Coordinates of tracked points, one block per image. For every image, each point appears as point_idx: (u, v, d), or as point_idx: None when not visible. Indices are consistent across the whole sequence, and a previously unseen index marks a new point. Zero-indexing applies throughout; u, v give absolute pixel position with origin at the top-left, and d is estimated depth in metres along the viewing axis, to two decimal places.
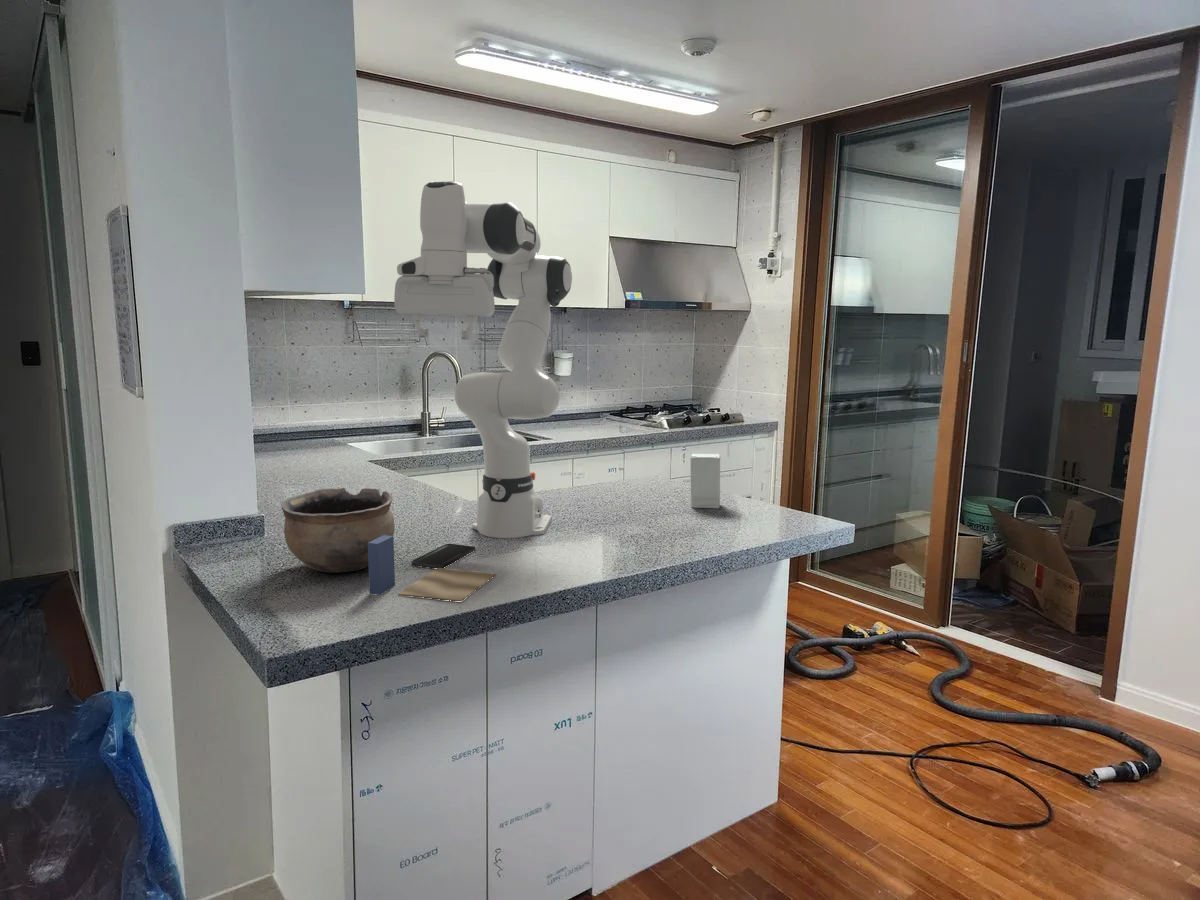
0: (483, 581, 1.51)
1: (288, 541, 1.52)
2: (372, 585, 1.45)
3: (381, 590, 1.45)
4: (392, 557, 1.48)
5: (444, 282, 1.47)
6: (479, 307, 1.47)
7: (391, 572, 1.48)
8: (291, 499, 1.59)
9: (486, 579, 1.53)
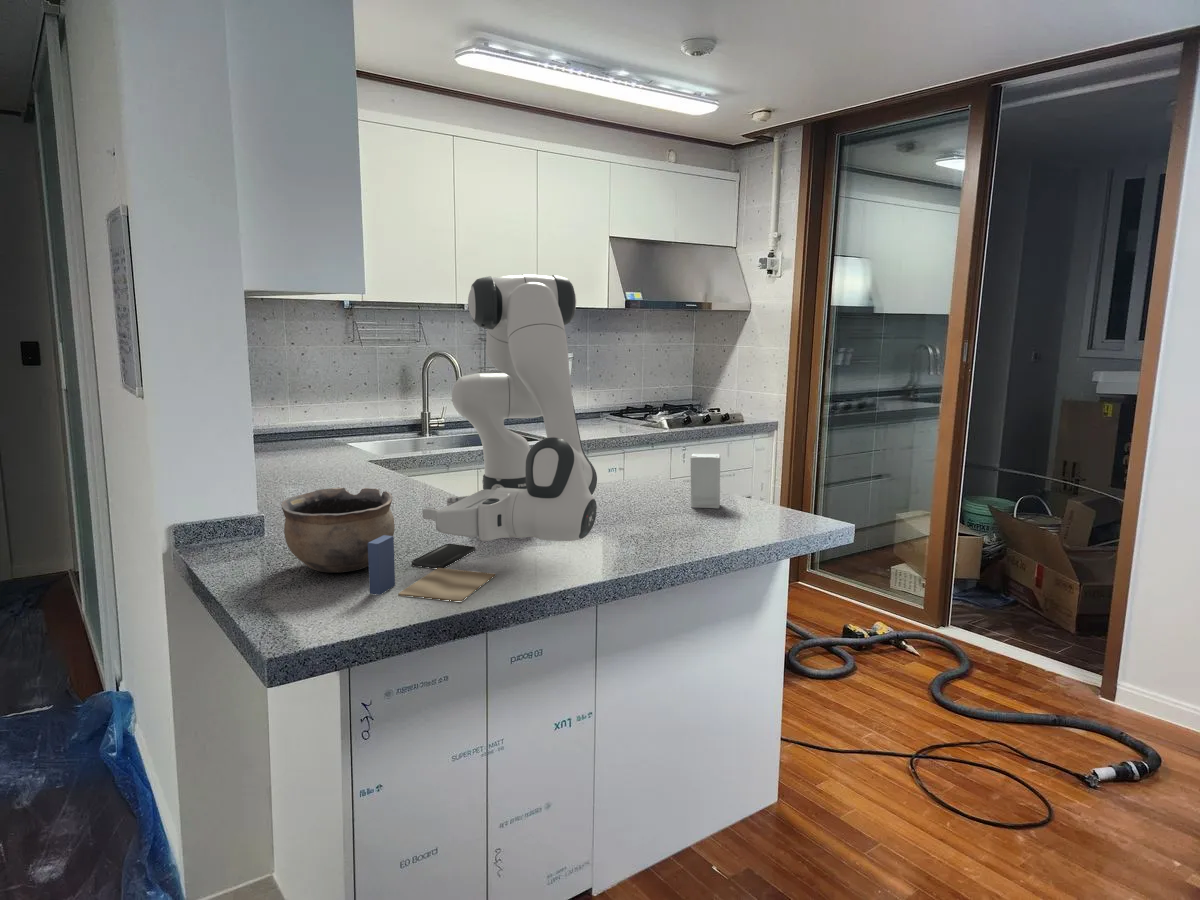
0: (483, 581, 1.51)
1: (288, 541, 1.52)
2: (372, 585, 1.45)
3: (381, 590, 1.45)
4: (392, 557, 1.48)
5: None
6: None
7: (391, 572, 1.48)
8: (291, 499, 1.59)
9: (486, 579, 1.53)
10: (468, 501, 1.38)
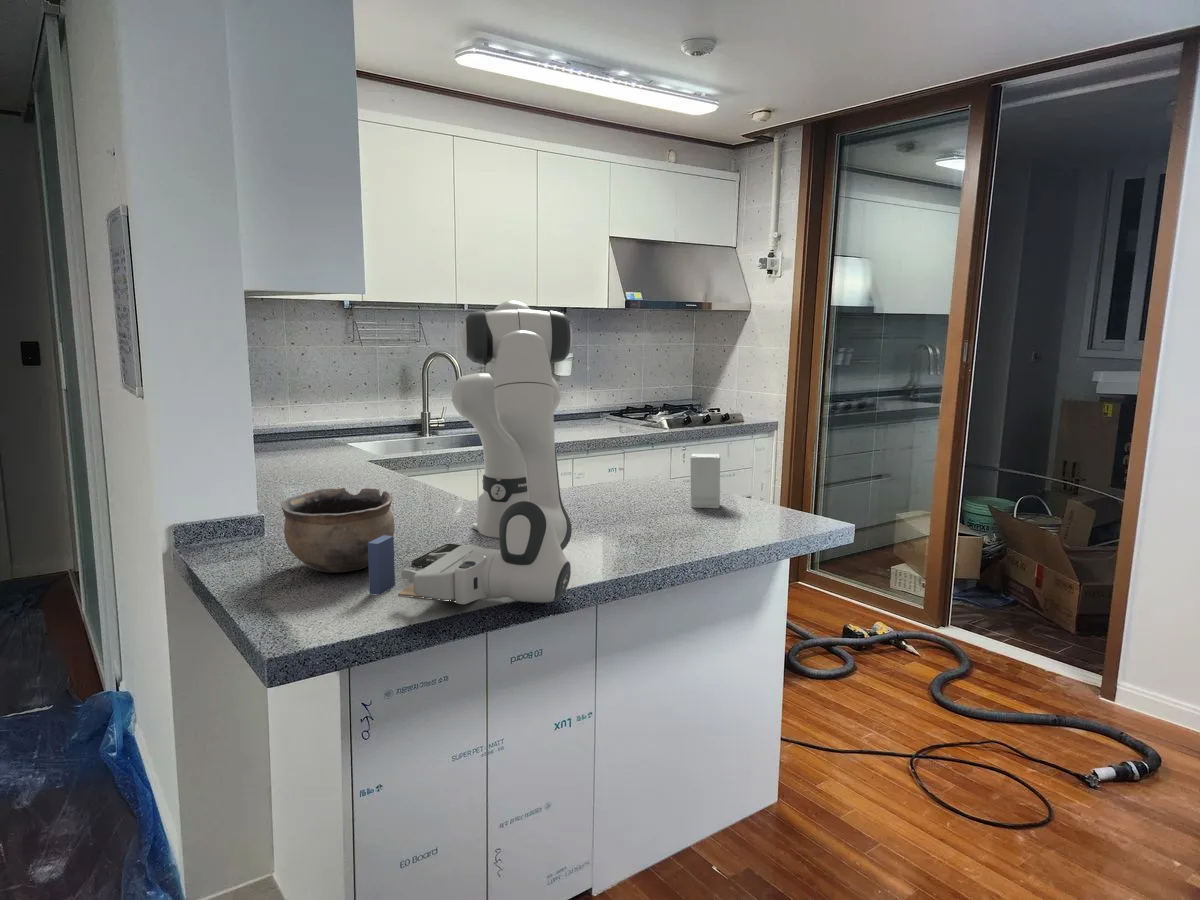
0: None
1: (288, 541, 1.52)
2: (372, 585, 1.45)
3: (381, 590, 1.45)
4: (392, 557, 1.48)
5: None
6: None
7: (391, 572, 1.48)
8: (291, 499, 1.59)
9: None
10: (446, 561, 1.42)
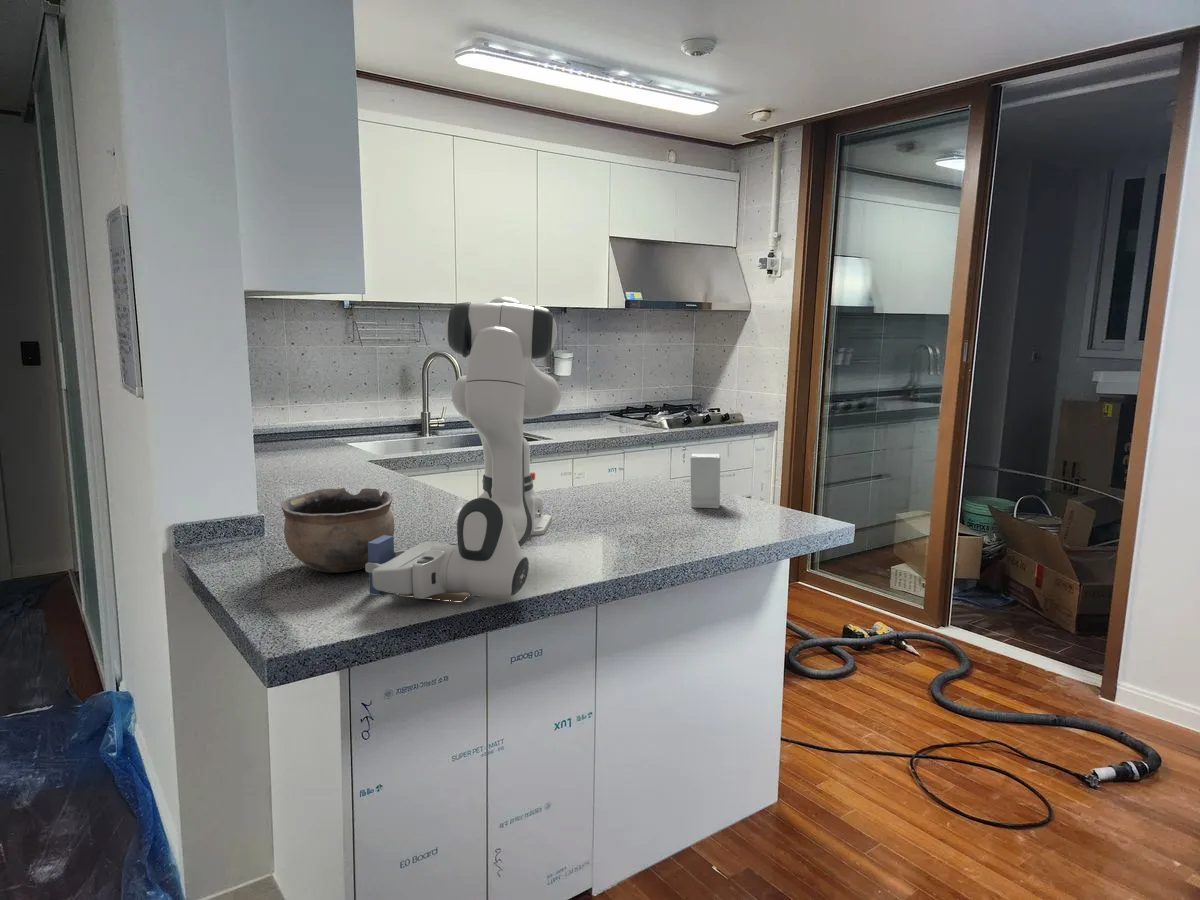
0: None
1: (288, 541, 1.52)
2: (372, 585, 1.45)
3: None
4: (392, 557, 1.48)
5: None
6: None
7: None
8: (291, 499, 1.59)
9: None
10: (406, 557, 1.44)
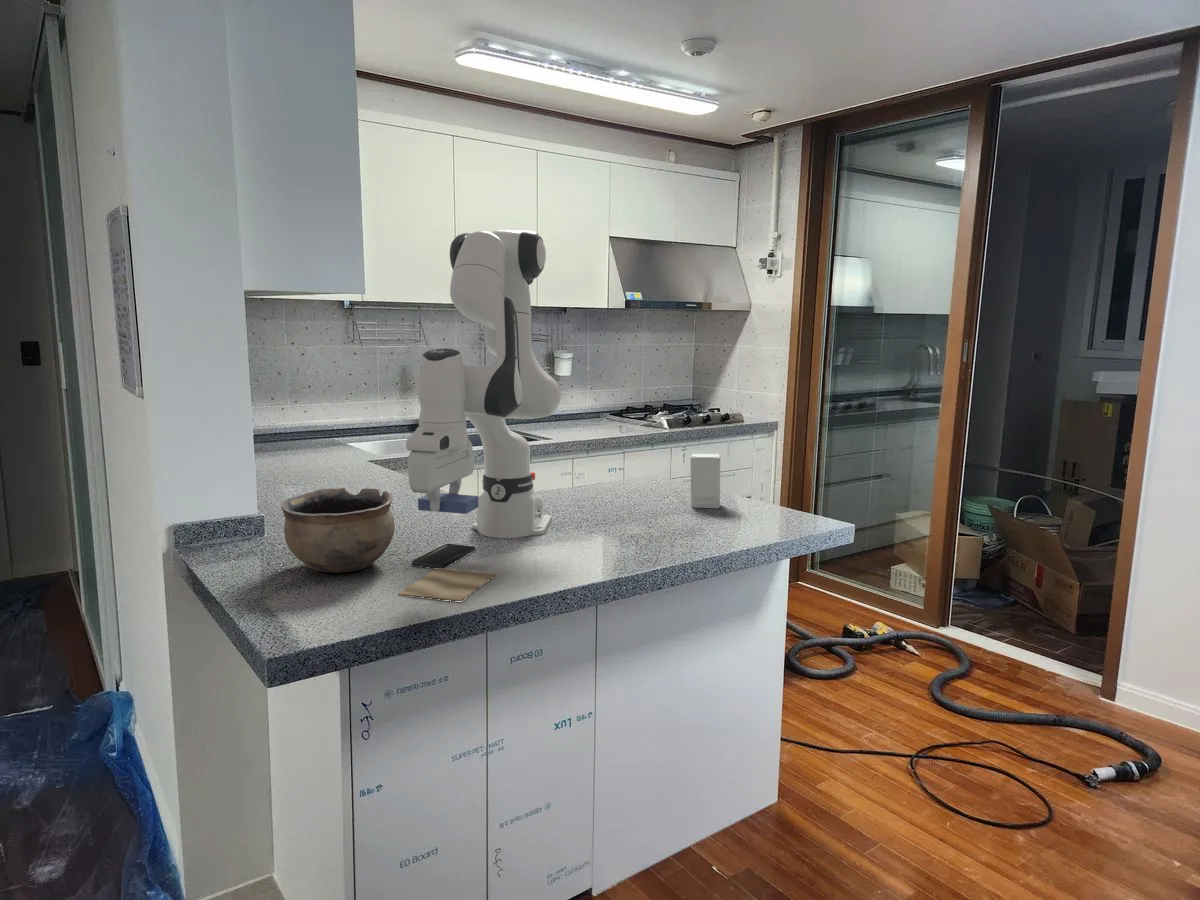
0: (483, 581, 1.51)
1: (288, 541, 1.52)
2: (457, 509, 1.44)
3: (464, 501, 1.44)
4: (449, 494, 1.50)
5: None
6: (471, 467, 1.54)
7: (460, 496, 1.48)
8: (291, 499, 1.59)
9: (486, 579, 1.53)
10: None
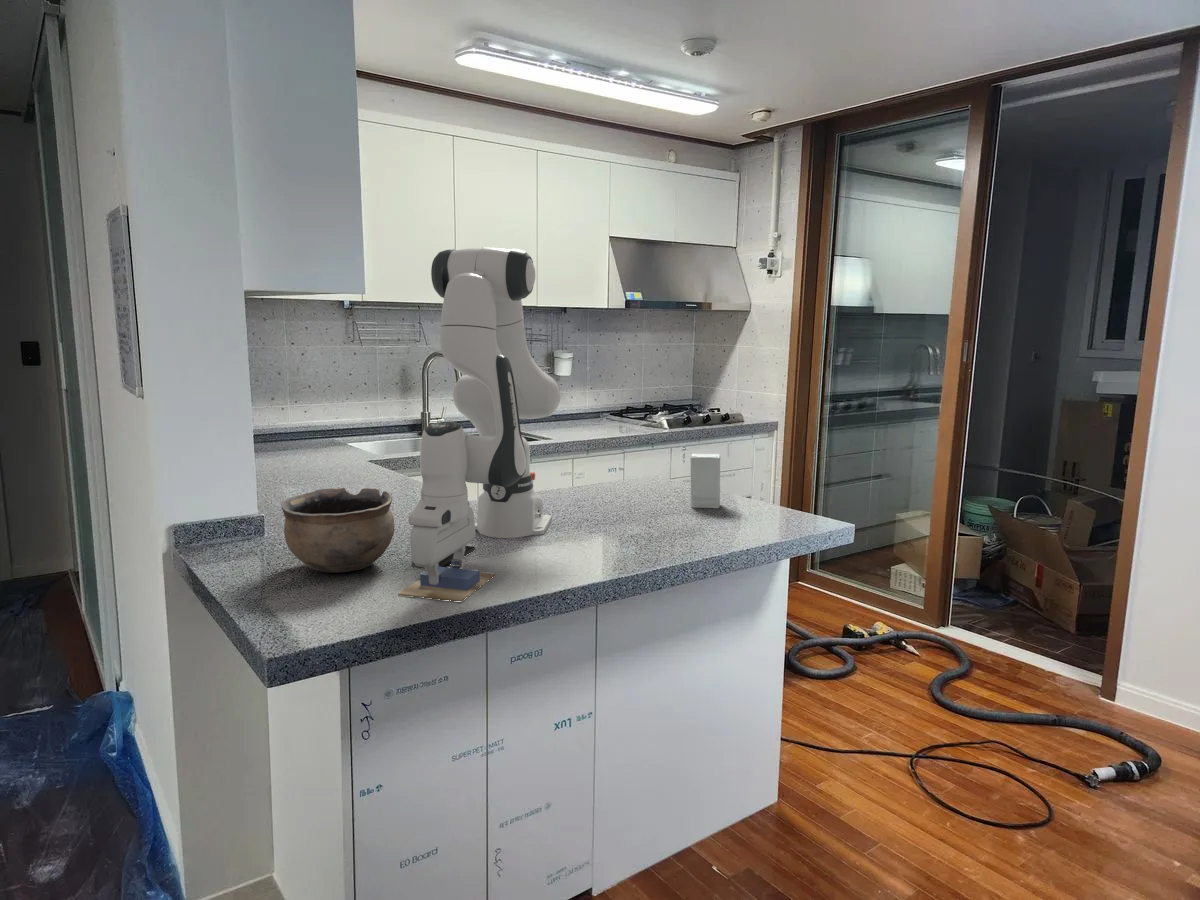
0: (483, 581, 1.51)
1: (288, 541, 1.52)
2: (459, 586, 1.47)
3: (465, 578, 1.47)
4: (450, 568, 1.52)
5: (461, 521, 1.49)
6: (472, 534, 1.57)
7: (462, 571, 1.51)
8: (291, 499, 1.59)
9: (486, 579, 1.53)
10: None
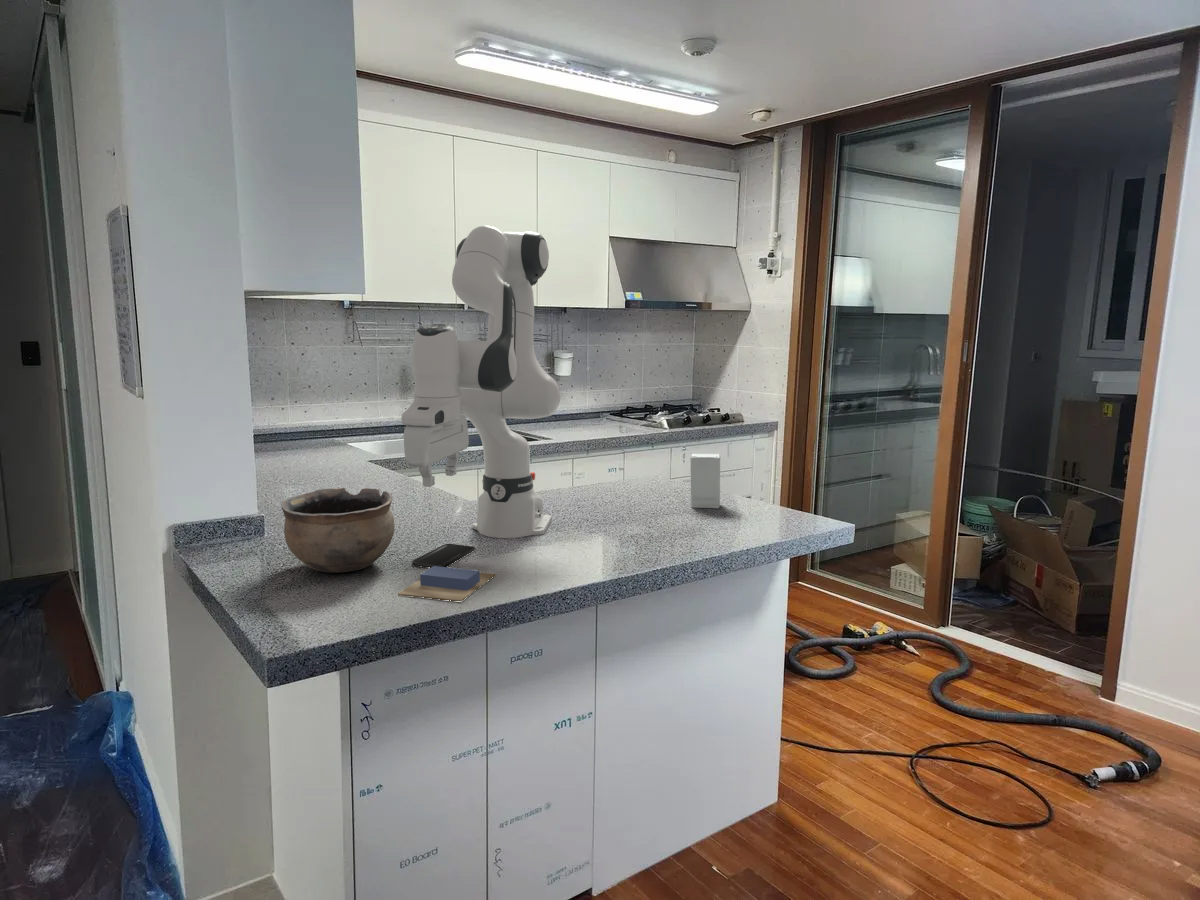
0: (483, 581, 1.51)
1: (288, 541, 1.52)
2: (459, 586, 1.47)
3: (465, 578, 1.47)
4: (450, 568, 1.52)
5: None
6: (465, 441, 1.56)
7: (462, 571, 1.51)
8: (291, 499, 1.59)
9: (486, 579, 1.53)
10: None
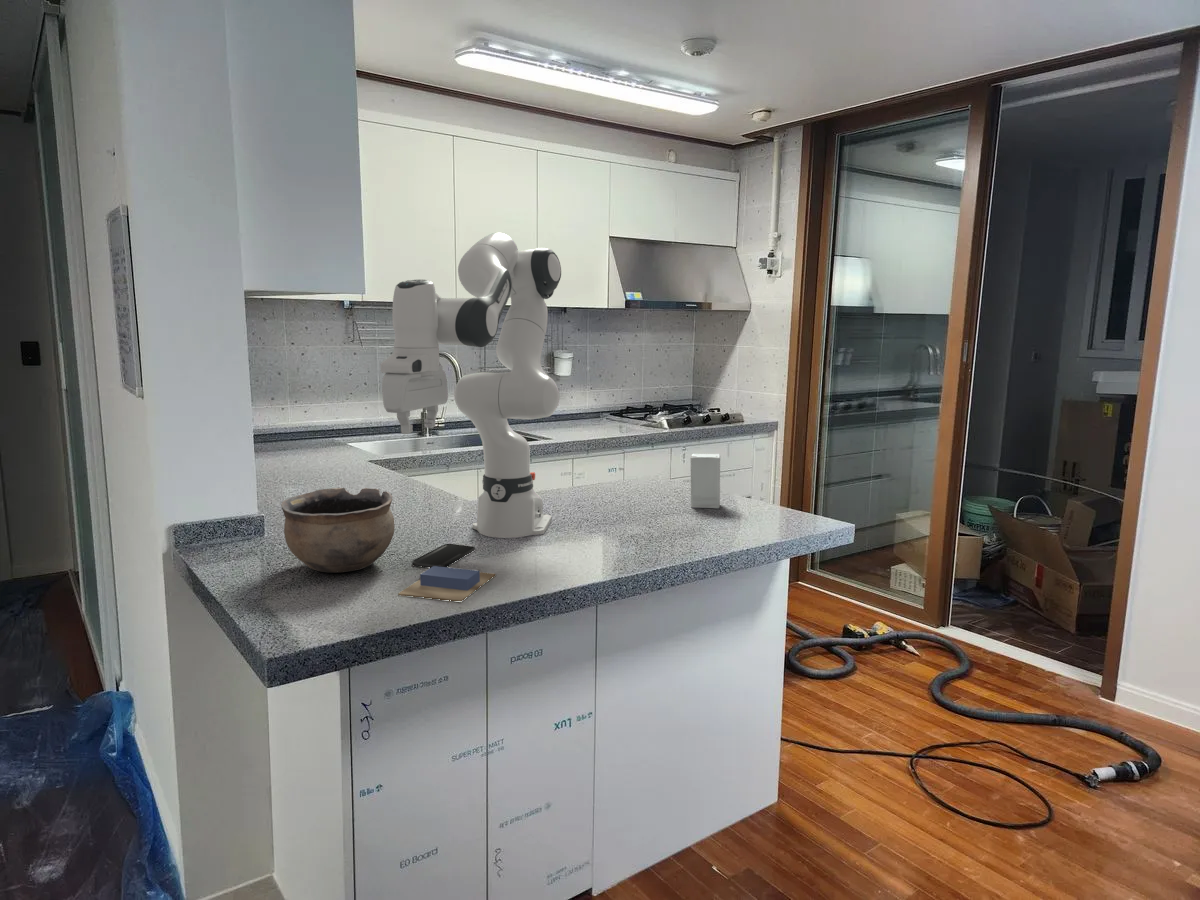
0: (483, 581, 1.51)
1: (288, 541, 1.52)
2: (459, 586, 1.47)
3: (465, 578, 1.47)
4: (450, 568, 1.52)
5: (433, 376, 1.55)
6: (444, 396, 1.62)
7: (462, 571, 1.51)
8: (291, 499, 1.59)
9: (486, 579, 1.53)
10: None
